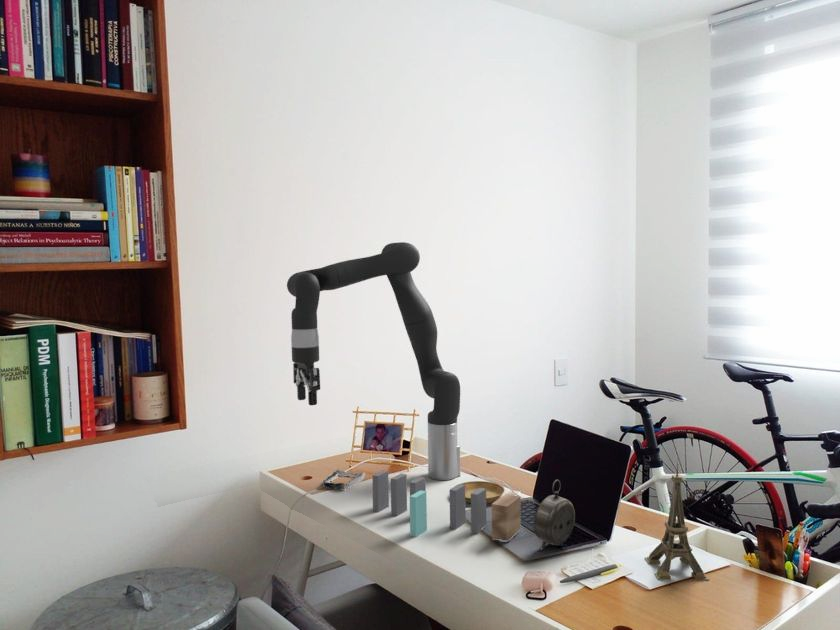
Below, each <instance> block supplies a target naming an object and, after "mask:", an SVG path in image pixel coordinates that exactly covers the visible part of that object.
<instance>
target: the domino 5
mask: <svg viewBox="0 0 840 630" xmlns="http://www.w3.org/2000/svg"><path fill="white" fill-rule="evenodd" d="M465 524H466V502H465V485H462V484H461V483H458V484H456V485H455V486H453V487H451V488H450V489H449V528H450V529H453V530H457V529H459V528H460V527H462V526H463V525H465Z"/></svg>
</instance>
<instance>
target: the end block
mask: <svg viewBox="0 0 840 630" xmlns="http://www.w3.org/2000/svg"><path fill="white" fill-rule="evenodd" d="M521 499H522V498H521V496H520V495H513V494H509V493H506V494H503V495H502V496H501V497H500V498H499V499H497V500H496V501H494V502H492V503H491V540H492V541H495V539H502V540H509V539H510V538H511V537H512V536H513V535H514V534H515V533H516V532H517V531H518V530H519V529H520V528H521V524H522V523H521V522H522V521H521V511H522V510H521V509H522V508H521V505H522V504H521ZM521 529H522V528H521Z"/></svg>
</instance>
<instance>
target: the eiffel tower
mask: <svg viewBox="0 0 840 630" xmlns="http://www.w3.org/2000/svg"><path fill="white" fill-rule="evenodd" d="M678 459H679V457H678V456H677V458H676V460H677V462H676V473H675V474H671V477H670V480H671V481H672V482H673V485H672V492H671V500H670V506H669V512H668V513H669V514H668V518H667V520H665V522H664V527H665V528H666V529H665V531H664V535H663V537H662V539H661V538H660V542H661V543H659V544H658V545H657V546H656V547H655V548H654V549H653V550H652V551H651V552H650V553H649V555H648V556H647V557H646V556H644V560H645V561H646V563H647V564H649V565H652V564H653V565H657V564H658V565H659V564H660V566H659V567H658V569H657V571H656V572H654V576H655V578H656V579H657V580H658V581H672V576H671V575H670V572H671V565H672V561H673V560H674V559H676V558H679V560H680V561H681V563H682V564H684V565H689V567H690V569H691V570H692V571H691V576H692V578H693V579H694V580H695V581H710V579H709V577H708V576H707V575H706V574H705V573H704V571H703V569H702V568H701V567H702V566H700V564H699V561H697V559H696V557H695V556H694V554H693V553H692V551H693V548H692V547H691V546H690V543H689V540H688V534H687V532H688V531H689V527H688V526H687V525H686V524H685V514H684V513H685V512H684V506H683V496H682V487H681V486H682V484H681V483H684V482H685V481H684V479H683V478H684V477H683V476H682V475H680V474H679V464H678ZM675 536H678V539H675ZM663 556H665V558H664V560H663V561H661V559H662V557H663ZM661 562H662V563H661Z"/></svg>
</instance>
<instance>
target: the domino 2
mask: <svg viewBox="0 0 840 630" xmlns="http://www.w3.org/2000/svg"><path fill="white" fill-rule="evenodd" d="M407 482H408V480H407V474H406V473H399V474H397V475H395V476H394V477H391V478H390V508H391V510H390V511H391V513H390V514H391V516H393V517H399V516H400V515H401V514H404V513H406V512H407V511H408V494H407V493H408V489H407V488H408V485H407V484H408V483H407Z"/></svg>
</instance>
